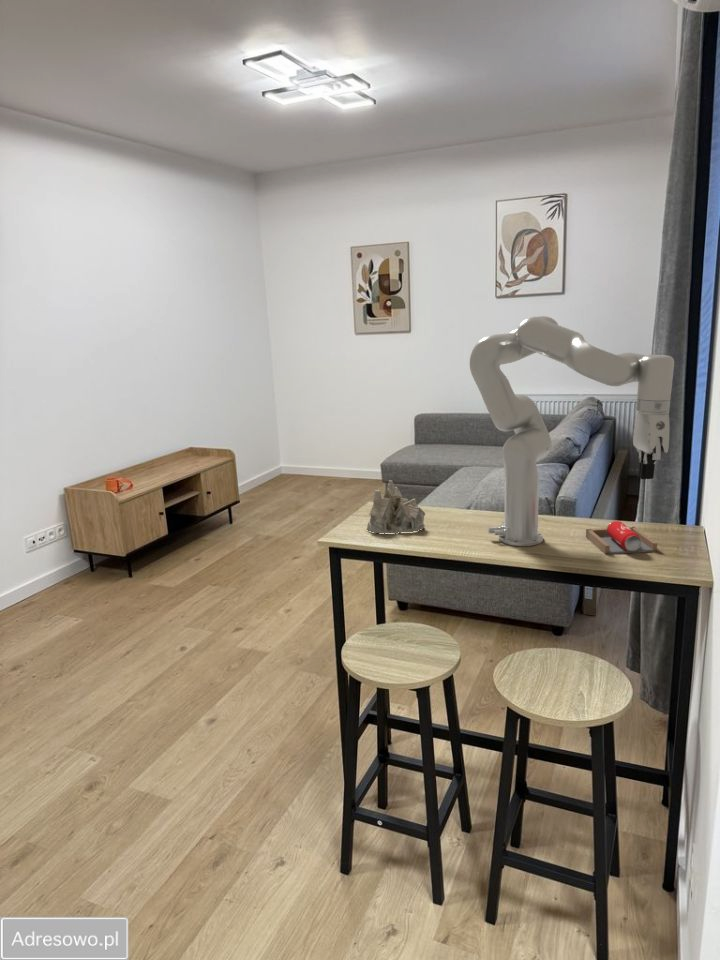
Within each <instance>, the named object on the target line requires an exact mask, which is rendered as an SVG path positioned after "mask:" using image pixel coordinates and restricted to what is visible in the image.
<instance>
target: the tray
mask: <svg viewBox="0 0 720 960" xmlns="http://www.w3.org/2000/svg"><path fill="white" fill-rule="evenodd" d="M627 527H628V528H630V529H631V530H632V531H633V532H635V533H636V534H637V535H638V536H639V537H640V539H641V546H640V547H639V549H637V550H636V551H627V550H625V549H624V548H623V547H621V546H620V545H619V544H618V543H617V542H616V541H615V540H613V539H612V538H611V537H610V536H609V535H608V533H607V527H605V528H603V527H602V528H587V529H585V538H586V539H587V540H588V541H590V542H591V544H593V545H594V546H595V548H596V547H597V549H598V550H599V551H601V552H602V553H603V554H604V555H616V554H617V555H618V554H619V555H620V554H634V553H636V554H637V553H649V552H650V553H651V552H652V553H653V552H657V549H658V543H657V542H656V541H655V540H654V539H652V538H651V537H650V536H648V535H647V534H645V533H644V532H643V531H641V530H640V529H638V528H637V527H635V526H627Z"/></svg>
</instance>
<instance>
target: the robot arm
mask: <svg viewBox="0 0 720 960" xmlns="http://www.w3.org/2000/svg"><path fill="white" fill-rule="evenodd" d="M536 353H537V354H539V355H542V356H544V357H547V358H548V359H551V360H555V361H556V362H559V363H561V364H564V365H566V366H567V367H568V368H569V369H572V370H573V371H574V372H576V373H577V374H580V375H582V376H584V377H586V378H588V379H591V380H593V381H595V382H598V383H600V384H603V385H606V386H610V387H621V386H623V385H626V384H627V385H628V384H632V383H637V396H636V403H635V404H636V406H635V412H636V415H635V416H636V417H635V421H634V428H633V434H632V435H633V436H632V445H633V447H635V448H636V451H637V453H638V462H639V465H638V475H637V477H638V478H639V479H641V480H653V479H654V478H655V477H654V476H655V466H656V465H657V464H656V463H657V461H658V460H661V459H662V457H661V456H662V455H661V454H667V453H668V451H669V445H670V430H671V429H670V414H669V413H670V407H671V399H672V398H671V396H672V389H673V388H672V387H673V380H674V379H673V377H674V369H675V360H674V358H673V357H672V356H670V355H667V354H641V353H635V352H633V353H632V352H624V353H618V354H616V353H615V354H614V353H612V352H609V351H606V350H604V349H601V348H598V347H596V346H594V345H592V344H590V343H589V342H587V340H585V338H584V335H583V334H581V333H580V332H578V331H575V330H573V329H570V328H566V327H564V326H561V325H559V324H558V322H557V321H556V320H555V319H553V318H552V317H549V316H545V315H543V316H542V315H541V316H531V317H527V318H526V319H524V320H522V321H521V322H520V323H519V324H518V326H517V328H516V329H515V330H512V331H510V332H507V333H500V334H499V333H498V334H497V333H496V334H492V335H486V336H484V337H483V338H481V339H479V341H478V342H477V343H476V344H474V347H473V348H472V350H471V353H470V357H469V368H470V369H469V370H470V374H471V376H472V379H473V380H474V382H475V385H476V386H477V388H478V391H479V393H480V395H481V397H482V400H483V403H484V404H485V407H486V409H487V411H488V414H489V416H490V418H491V420H492V423H493V425H494V426H495V428H496V429H498V430H499V431H500V432H501V431H502V432H512V431H514V434H513V435H511V436H510V437H509V438H507V439H506V441H505V442H504V444H503V446H502V452H501V454H502V455H501V457H502V463H503V464H502V465H503V470H504V471H503V472H504V516H503V517H504V519H503V520H504V521H503V522H501V525H498V526H488V527H487V533H488V534H494V536H498V539H499V540H500V541H501V542H502V543H504V544H506V545H509V546H516V547H531V546H536V545H539V544H541V543H542V542H543V541H544V536H543V534H542V533H541V532H539V498H540V496H539V495H540V493H539V492H540V491H539V490H540V487H539V486H540V480H539V479H540V478H539V477H540V476H539V472H538V467H537V462H539V461H541V460H543V459H545V458H546V457H547V456H548V454H549V453H550V452H551V450H552V438H551V435H550V433H549V430H548V428H547V426H546V424H545V422H544V421H545V420H544V419H543V418H542V415H541V413H540V411H539V409H538V406H537V405H536V403H535V401H534V400H533V399H531V398H530V397H529V396H527V395H525V394H515V392H514V390H513V388H512V386H511V383H510V381H509V379H508V377H507V376H506V375H505V374H504V372H503V371H502V370H501V367H500V366H502V365H507V364H511V363H515V362H517V361H520V360H522V359H525V358H527V357H529V356H531V355H533V354H536ZM500 541H499V542H500Z"/></svg>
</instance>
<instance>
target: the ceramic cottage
mask: <svg viewBox="0 0 720 960" xmlns="http://www.w3.org/2000/svg"><path fill="white" fill-rule="evenodd" d="M372 502H373V505H372V506H371V510H370V512H369V513H368V515H369V516H370V518H369V521H368V522H367V525H366V526H367V527H366V531H367V530H368V531H371V532H374V533H384V534H385V533H398V532H399V533H401V532H413V531H418V530H420V529H423V528H424V527H425V524H424V519H425V516H426V512H425V511H424V510H423V509H422V508H421V507H420V506H418V504H417V501H416V498H412V499H411V500H409V499H408V498H403V494H402V493H401V491H400V490H399V487H398V486H395V484H394V481H393V480H392V479H389V480H388V484H387V488H386V491H385V492H384V495H383V497H382V493H381V490H380V489H375V490H374V496H373V501H372ZM425 528H426V527H425ZM368 531H367V532H368Z"/></svg>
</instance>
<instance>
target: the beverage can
mask: <svg viewBox="0 0 720 960" xmlns="http://www.w3.org/2000/svg"><path fill="white" fill-rule="evenodd" d="M628 527H629V526H627V525H626V524H625V523H623V522H622V521H619V520H614V521H611V522H609V524H608V525H607V527H606V528H607V533H608V535H609V536H610V537H611V538H612V539H613V540H615V541H616V542H617V543H618V544H619V545H620V546H621V547H623V548H624V549H625V550H627V551H636V550H637V549H639V547H640V546H641V539H640V537H639V536H638V535H637V534H636V533H635V532H633V531H632V530H631V529H630V528H628Z"/></svg>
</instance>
